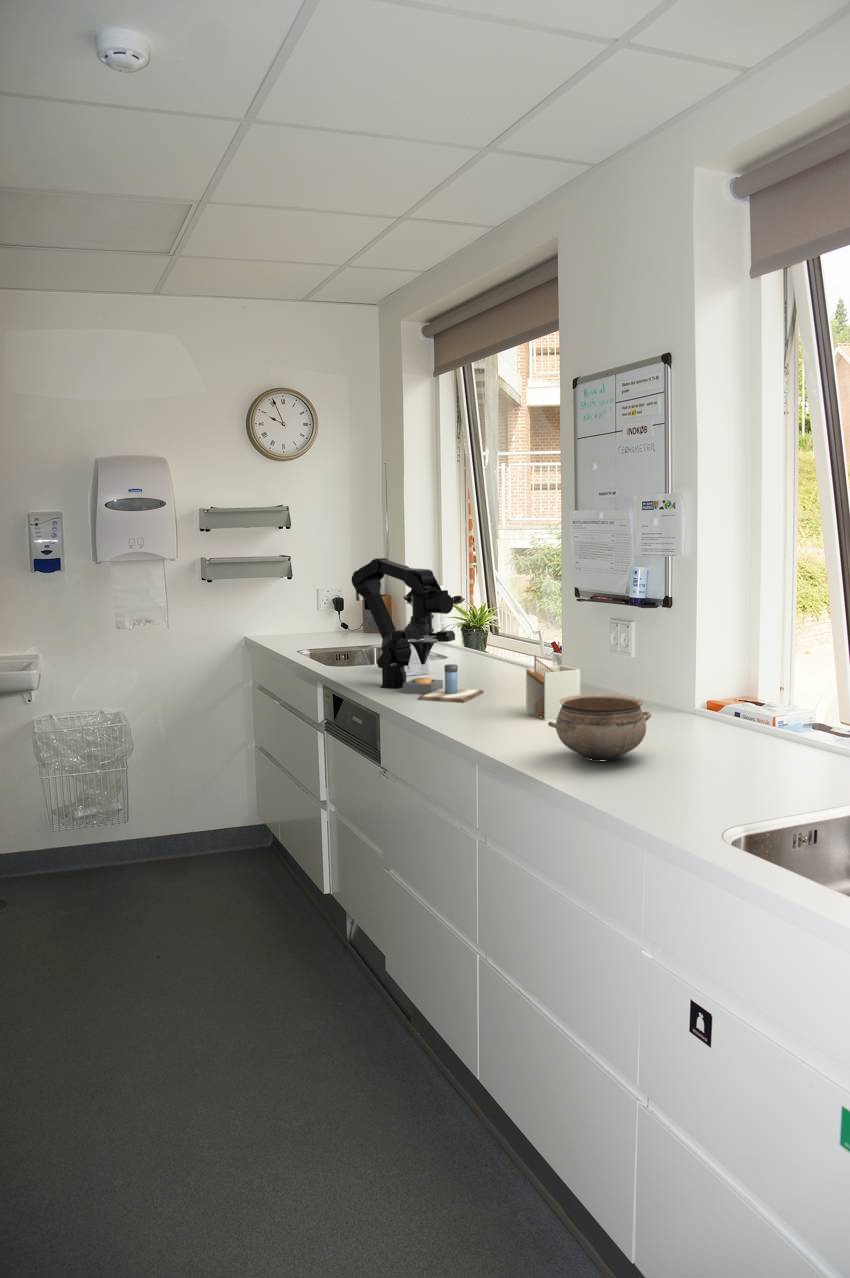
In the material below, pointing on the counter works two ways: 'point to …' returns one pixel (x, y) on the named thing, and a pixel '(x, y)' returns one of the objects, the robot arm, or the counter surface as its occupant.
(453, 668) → the blue tumbler
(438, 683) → the button housing
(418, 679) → the button
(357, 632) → the counter surface
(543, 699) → the model staircase
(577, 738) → the cooking pot
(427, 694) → the board
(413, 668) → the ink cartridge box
